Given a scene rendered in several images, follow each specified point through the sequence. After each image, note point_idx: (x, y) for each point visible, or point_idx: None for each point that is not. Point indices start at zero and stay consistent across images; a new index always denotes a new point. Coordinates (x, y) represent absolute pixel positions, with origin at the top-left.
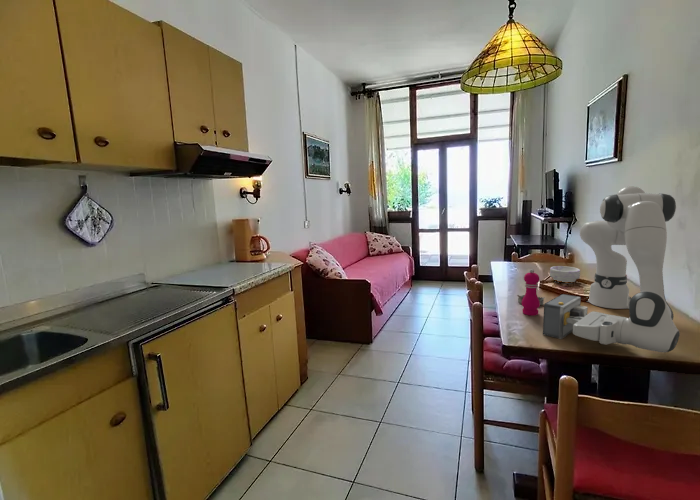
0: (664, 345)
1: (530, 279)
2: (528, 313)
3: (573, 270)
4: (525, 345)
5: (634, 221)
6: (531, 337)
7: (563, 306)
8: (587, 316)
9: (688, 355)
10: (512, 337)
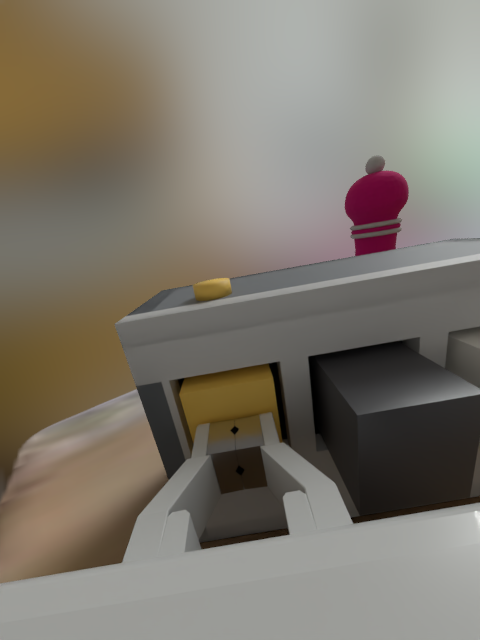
0: None
1: (351, 201)
2: None
3: None
4: (27, 471)
5: None
6: (141, 438)
7: (152, 315)
8: (350, 581)
9: None
10: (112, 409)
